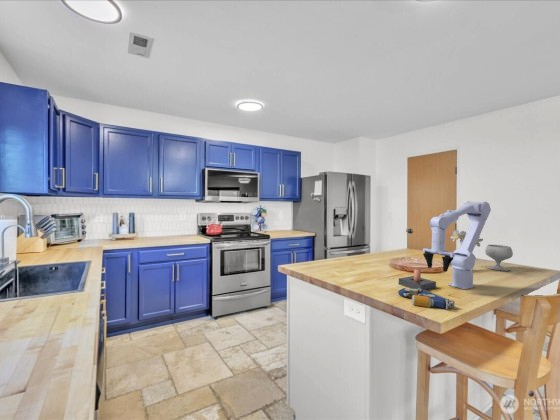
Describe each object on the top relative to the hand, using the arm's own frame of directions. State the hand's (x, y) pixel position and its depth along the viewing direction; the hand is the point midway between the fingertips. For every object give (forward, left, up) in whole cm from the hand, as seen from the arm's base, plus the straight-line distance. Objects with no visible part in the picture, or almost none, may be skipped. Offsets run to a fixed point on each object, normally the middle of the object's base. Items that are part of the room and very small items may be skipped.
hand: (437, 269), depth 134 cm
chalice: (-79, -8, -10) cm, 80 cm away
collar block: (+5, -7, -9) cm, 13 cm away
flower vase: (-53, -15, -10) cm, 56 cm away
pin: (+5, -7, -9) cm, 13 cm away
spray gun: (+23, +8, -10) cm, 26 cm away
